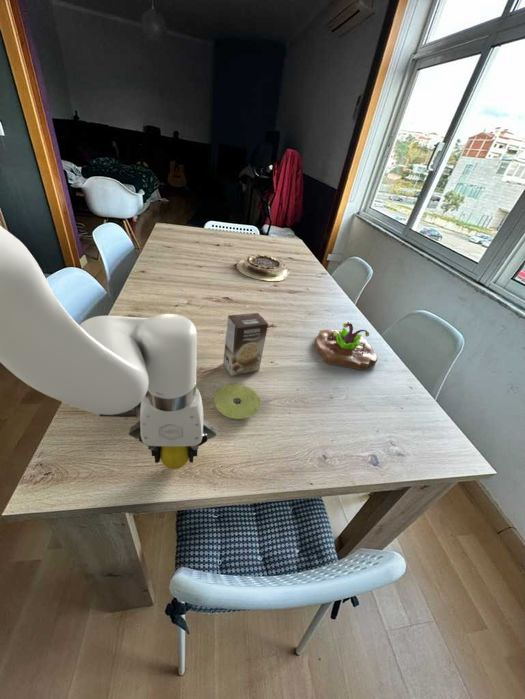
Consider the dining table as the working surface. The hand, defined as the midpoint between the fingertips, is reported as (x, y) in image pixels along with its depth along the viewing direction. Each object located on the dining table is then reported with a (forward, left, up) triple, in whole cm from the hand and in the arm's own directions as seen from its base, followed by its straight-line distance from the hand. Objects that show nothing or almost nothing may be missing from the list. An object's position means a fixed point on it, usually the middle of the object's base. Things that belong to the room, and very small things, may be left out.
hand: (175, 455), depth 57 cm
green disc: (+20, -3, -3) cm, 20 cm away
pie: (+108, +29, -3) cm, 112 cm away
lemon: (0, 0, -3) cm, 3 cm away
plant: (+61, -22, -3) cm, 65 cm away
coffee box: (+34, +3, -3) cm, 34 cm away
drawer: (+9, +20, -2) cm, 22 cm away
